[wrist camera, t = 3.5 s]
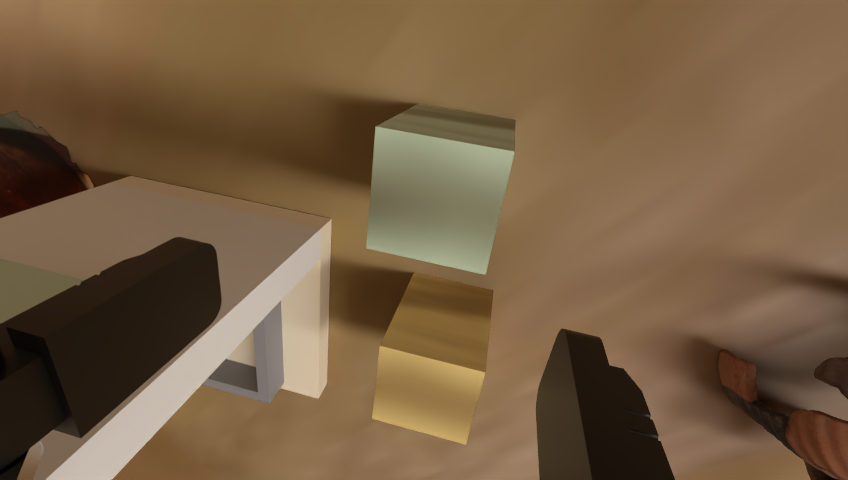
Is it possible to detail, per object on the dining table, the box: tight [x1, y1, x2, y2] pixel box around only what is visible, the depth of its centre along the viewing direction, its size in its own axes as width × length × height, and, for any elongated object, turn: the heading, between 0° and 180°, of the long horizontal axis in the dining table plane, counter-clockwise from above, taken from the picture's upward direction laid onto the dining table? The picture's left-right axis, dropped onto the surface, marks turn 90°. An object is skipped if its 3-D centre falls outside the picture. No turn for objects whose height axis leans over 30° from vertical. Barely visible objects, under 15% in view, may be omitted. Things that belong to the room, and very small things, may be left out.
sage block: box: [366, 104, 516, 275], centre depth 18 cm, size 5×5×7 cm
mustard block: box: [372, 273, 493, 444], centre depth 23 cm, size 5×5×7 cm
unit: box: [0, 176, 332, 480], centre depth 20 cm, size 14×14×20 cm
